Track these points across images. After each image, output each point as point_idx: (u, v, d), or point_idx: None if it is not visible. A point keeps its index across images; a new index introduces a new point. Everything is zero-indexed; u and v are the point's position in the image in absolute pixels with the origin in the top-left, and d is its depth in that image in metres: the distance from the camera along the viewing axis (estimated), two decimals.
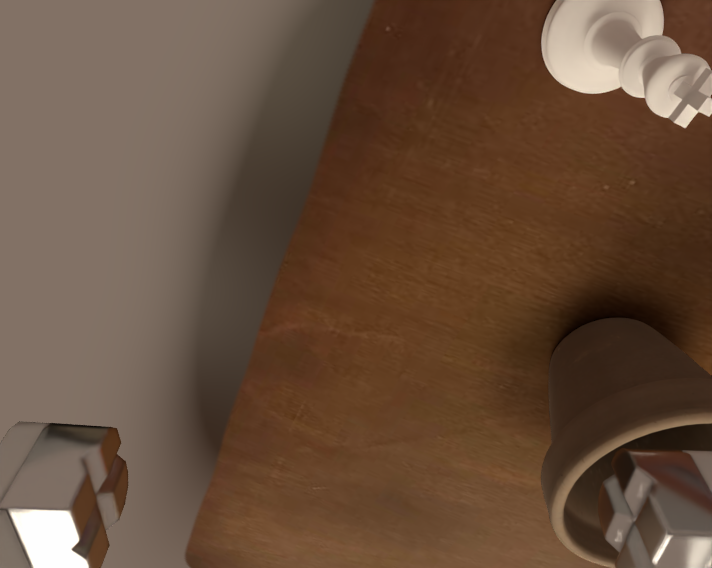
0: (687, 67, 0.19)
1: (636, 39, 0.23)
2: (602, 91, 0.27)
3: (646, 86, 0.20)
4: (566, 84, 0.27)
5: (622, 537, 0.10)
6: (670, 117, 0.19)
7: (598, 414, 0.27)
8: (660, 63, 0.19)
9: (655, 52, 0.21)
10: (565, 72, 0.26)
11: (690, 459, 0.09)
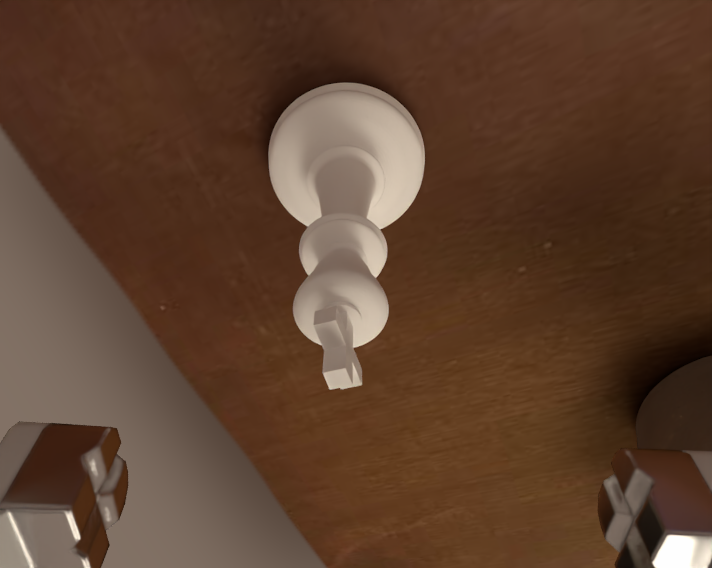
0: (318, 298, 0.12)
1: (328, 205, 0.16)
2: (402, 212, 0.20)
3: None
4: None
5: (622, 537, 0.10)
6: None
7: None
8: None
9: (323, 244, 0.14)
10: None
11: (690, 459, 0.09)
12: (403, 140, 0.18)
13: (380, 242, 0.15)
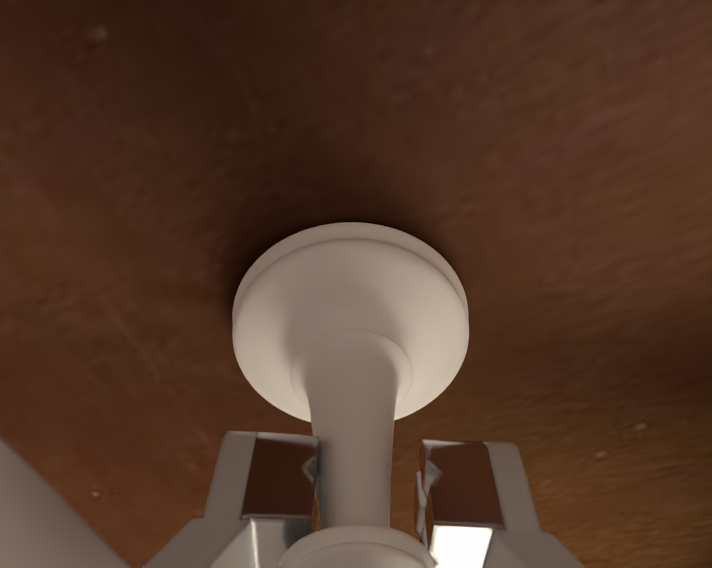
0: None
1: (327, 458, 0.10)
2: (435, 396, 0.13)
3: None
4: None
5: None
6: None
7: None
8: None
9: None
10: None
11: (485, 450, 0.09)
12: (439, 308, 0.12)
13: (424, 567, 0.08)
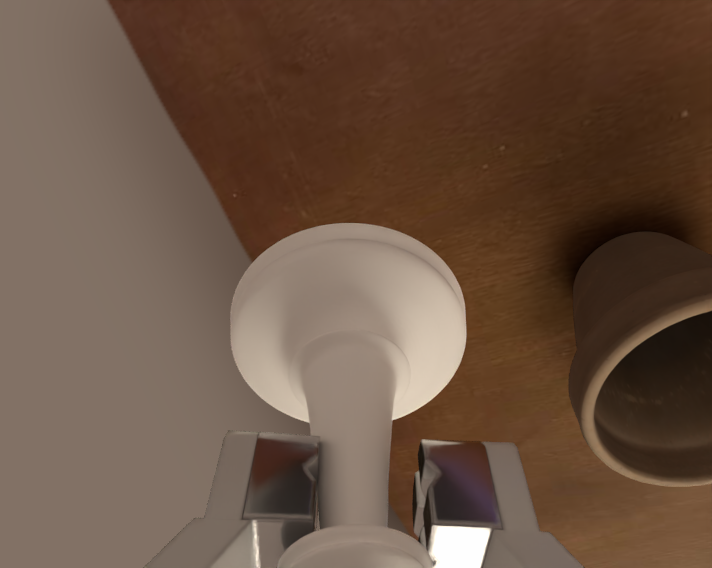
0: None
1: (325, 459, 0.10)
2: (434, 396, 0.13)
3: None
4: None
5: None
6: None
7: (575, 370, 0.28)
8: None
9: None
10: None
11: (484, 450, 0.09)
12: (436, 307, 0.12)
13: (422, 567, 0.08)
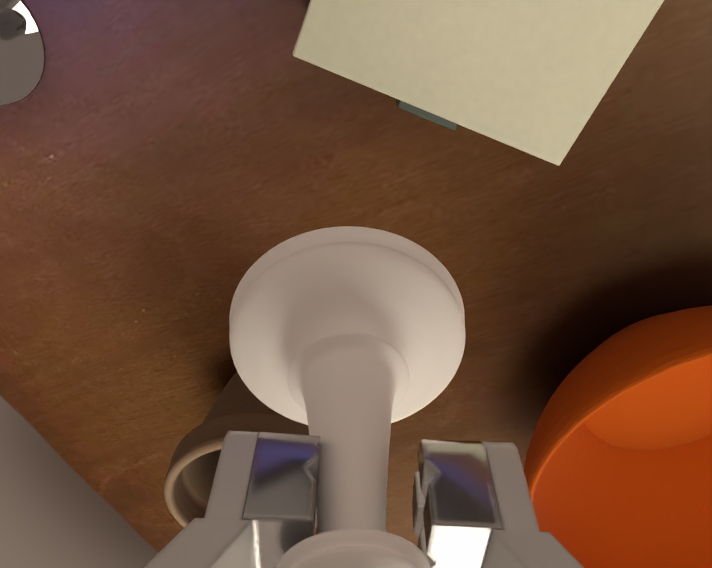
0: None
1: (324, 463, 0.10)
2: (433, 399, 0.13)
3: None
4: None
5: None
6: None
7: None
8: None
9: None
10: None
11: (484, 450, 0.09)
12: (435, 311, 0.12)
13: None
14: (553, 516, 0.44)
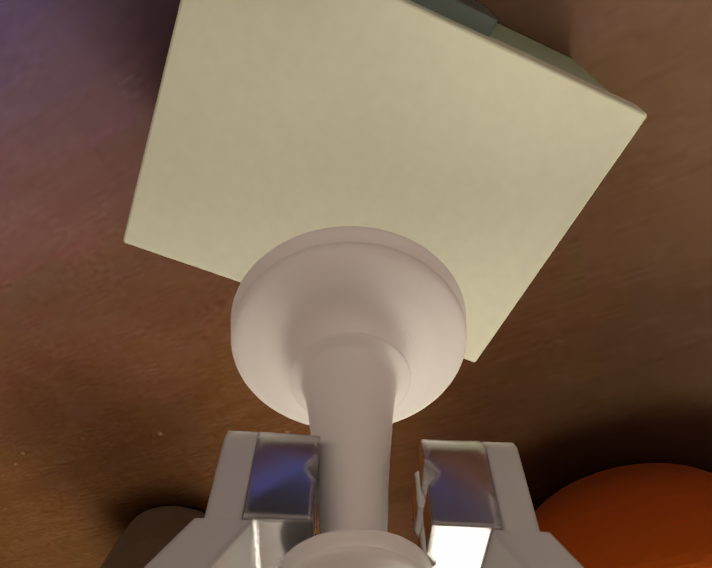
0: None
1: (325, 463, 0.10)
2: (434, 399, 0.13)
3: None
4: None
5: None
6: None
7: None
8: None
9: None
10: None
11: (484, 450, 0.09)
12: (436, 311, 0.12)
13: None
14: None
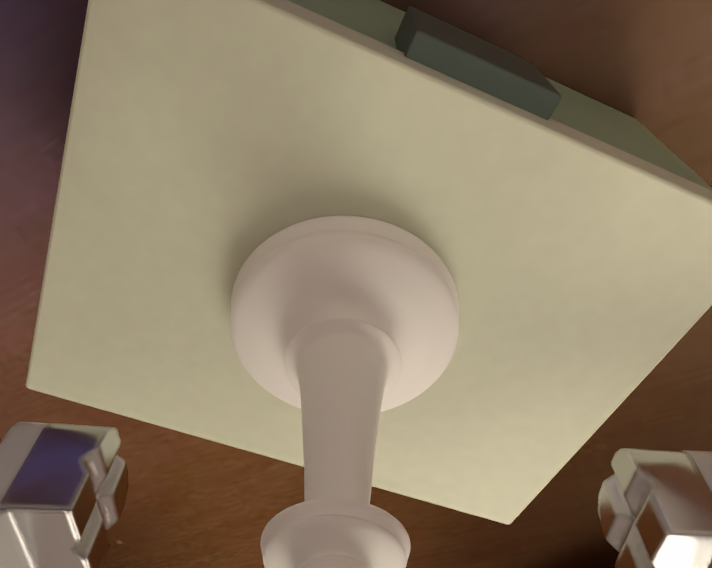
0: None
1: (313, 439, 0.10)
2: (427, 387, 0.14)
3: None
4: None
5: (622, 537, 0.10)
6: None
7: None
8: None
9: (300, 552, 0.08)
10: None
11: (690, 459, 0.09)
12: (428, 299, 0.12)
13: (399, 542, 0.08)
14: None
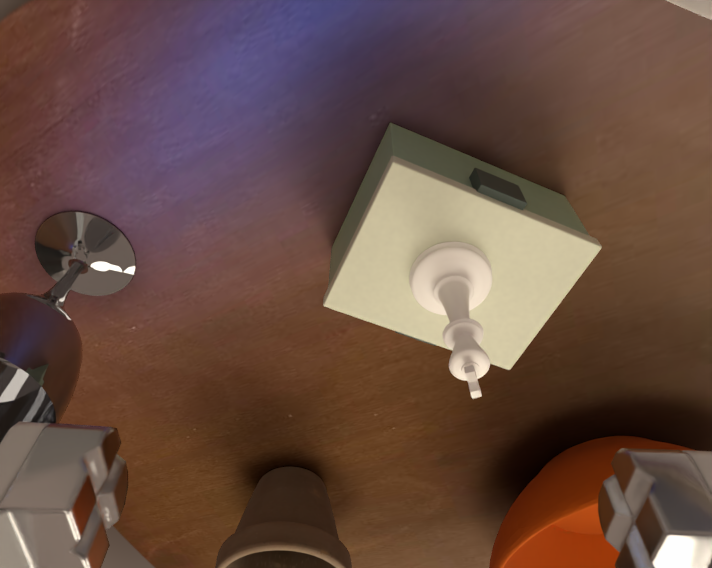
0: (461, 360, 0.30)
1: (451, 309, 0.33)
2: None
3: None
4: None
5: (622, 537, 0.10)
6: None
7: None
8: (449, 362, 0.30)
9: (455, 332, 0.32)
10: None
11: (690, 459, 0.09)
12: (482, 269, 0.35)
13: (480, 330, 0.32)
14: None
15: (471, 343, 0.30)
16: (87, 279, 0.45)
